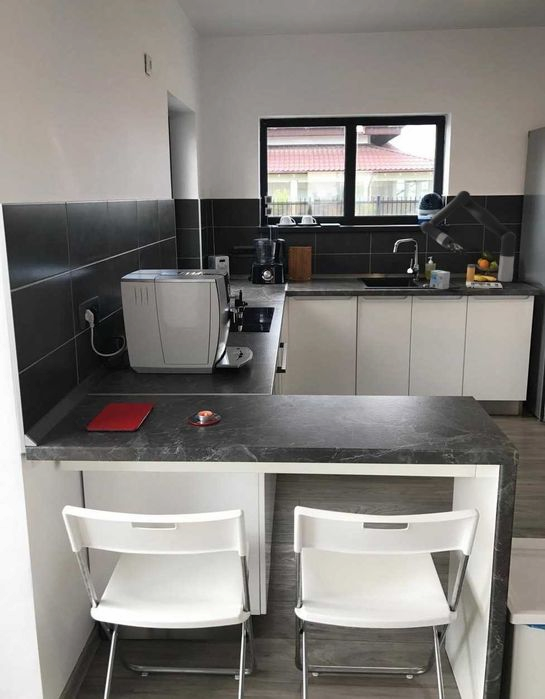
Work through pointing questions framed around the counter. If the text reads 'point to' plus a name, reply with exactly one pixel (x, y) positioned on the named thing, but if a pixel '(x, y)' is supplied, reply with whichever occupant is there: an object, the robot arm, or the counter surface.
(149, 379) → the counter surface
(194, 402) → the counter surface
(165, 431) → the counter surface
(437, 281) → the light bulb box
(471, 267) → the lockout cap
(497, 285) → the breaker board
